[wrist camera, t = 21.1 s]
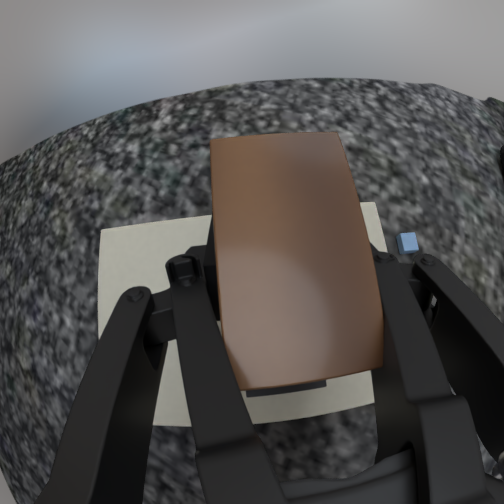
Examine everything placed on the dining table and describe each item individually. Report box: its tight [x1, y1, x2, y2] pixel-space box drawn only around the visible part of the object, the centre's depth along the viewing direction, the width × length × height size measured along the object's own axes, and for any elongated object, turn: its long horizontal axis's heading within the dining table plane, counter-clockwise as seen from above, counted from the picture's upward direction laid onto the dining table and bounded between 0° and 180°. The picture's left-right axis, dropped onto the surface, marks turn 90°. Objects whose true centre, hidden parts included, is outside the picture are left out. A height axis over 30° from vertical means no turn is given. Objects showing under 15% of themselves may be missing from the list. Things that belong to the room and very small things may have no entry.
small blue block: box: [396, 233, 419, 254], centre depth 20 cm, size 2×2×1 cm
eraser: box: [210, 132, 384, 398], centre depth 13 cm, size 5×12×11 cm, turn 6°
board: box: [98, 202, 388, 426], centre depth 19 cm, size 22×15×1 cm
